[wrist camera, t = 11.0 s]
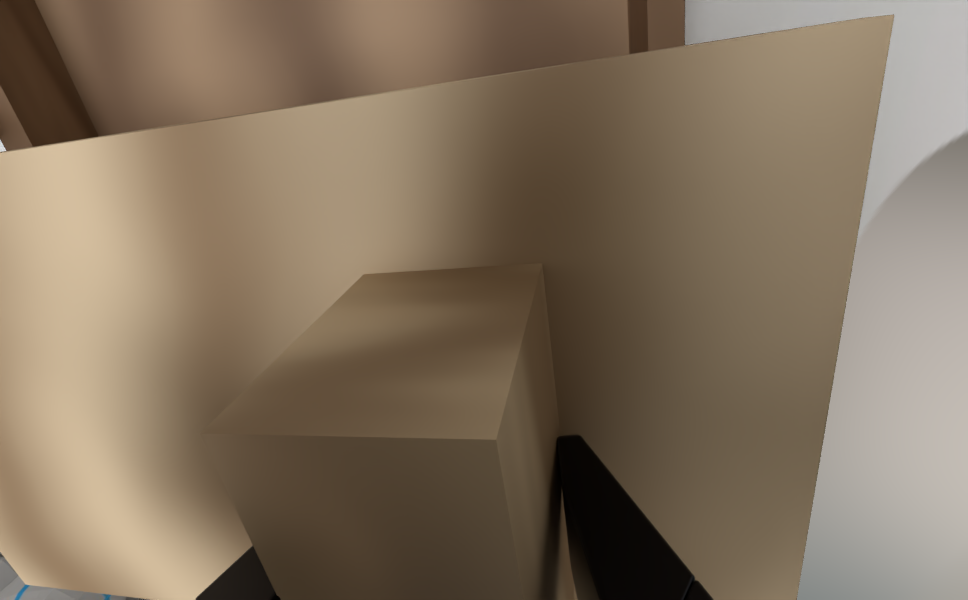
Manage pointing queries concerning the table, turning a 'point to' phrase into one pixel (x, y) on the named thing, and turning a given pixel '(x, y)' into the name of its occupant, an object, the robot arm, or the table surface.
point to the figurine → (41, 589)
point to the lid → (438, 326)
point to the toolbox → (281, 54)
